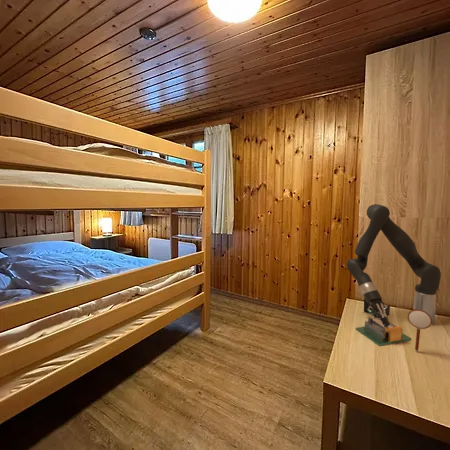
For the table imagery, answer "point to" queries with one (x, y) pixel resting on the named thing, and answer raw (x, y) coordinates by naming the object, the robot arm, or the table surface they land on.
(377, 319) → the light grey flat bar
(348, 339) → the table surface
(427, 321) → the magnifying glass
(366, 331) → the circuit board
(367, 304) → the battery
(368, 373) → the table surface
